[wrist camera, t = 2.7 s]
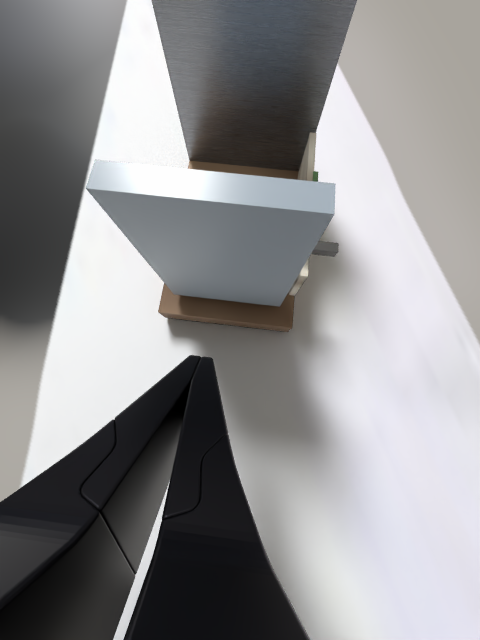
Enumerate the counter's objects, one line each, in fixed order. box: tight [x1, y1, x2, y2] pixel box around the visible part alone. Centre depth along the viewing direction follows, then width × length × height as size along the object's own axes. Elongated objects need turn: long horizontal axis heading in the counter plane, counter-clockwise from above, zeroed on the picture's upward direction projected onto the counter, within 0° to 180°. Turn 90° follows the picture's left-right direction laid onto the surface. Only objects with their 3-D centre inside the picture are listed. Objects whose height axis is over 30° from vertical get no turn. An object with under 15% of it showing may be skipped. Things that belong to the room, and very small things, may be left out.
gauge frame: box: [158, 132, 318, 332], centre depth 16 cm, size 14×9×5 cm, turn 173°
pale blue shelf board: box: [86, 160, 338, 307], centre depth 11 cm, size 4×9×9 cm, turn 83°
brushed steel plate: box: [152, 0, 357, 171], centre depth 14 cm, size 2×9×10 cm, turn 83°
